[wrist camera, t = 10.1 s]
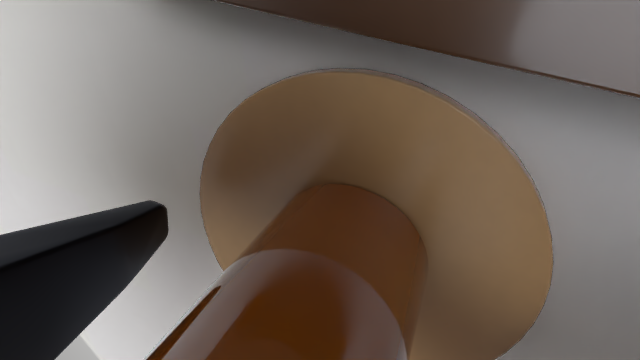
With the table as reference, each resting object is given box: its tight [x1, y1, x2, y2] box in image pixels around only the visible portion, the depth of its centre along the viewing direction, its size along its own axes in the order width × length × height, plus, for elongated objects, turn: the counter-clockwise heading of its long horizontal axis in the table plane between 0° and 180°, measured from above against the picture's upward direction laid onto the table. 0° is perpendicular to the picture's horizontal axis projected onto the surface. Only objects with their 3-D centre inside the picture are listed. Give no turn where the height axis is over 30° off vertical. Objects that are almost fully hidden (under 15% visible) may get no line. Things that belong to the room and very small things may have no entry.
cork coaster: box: [200, 68, 553, 360], centre depth 10 cm, size 9×9×1 cm
